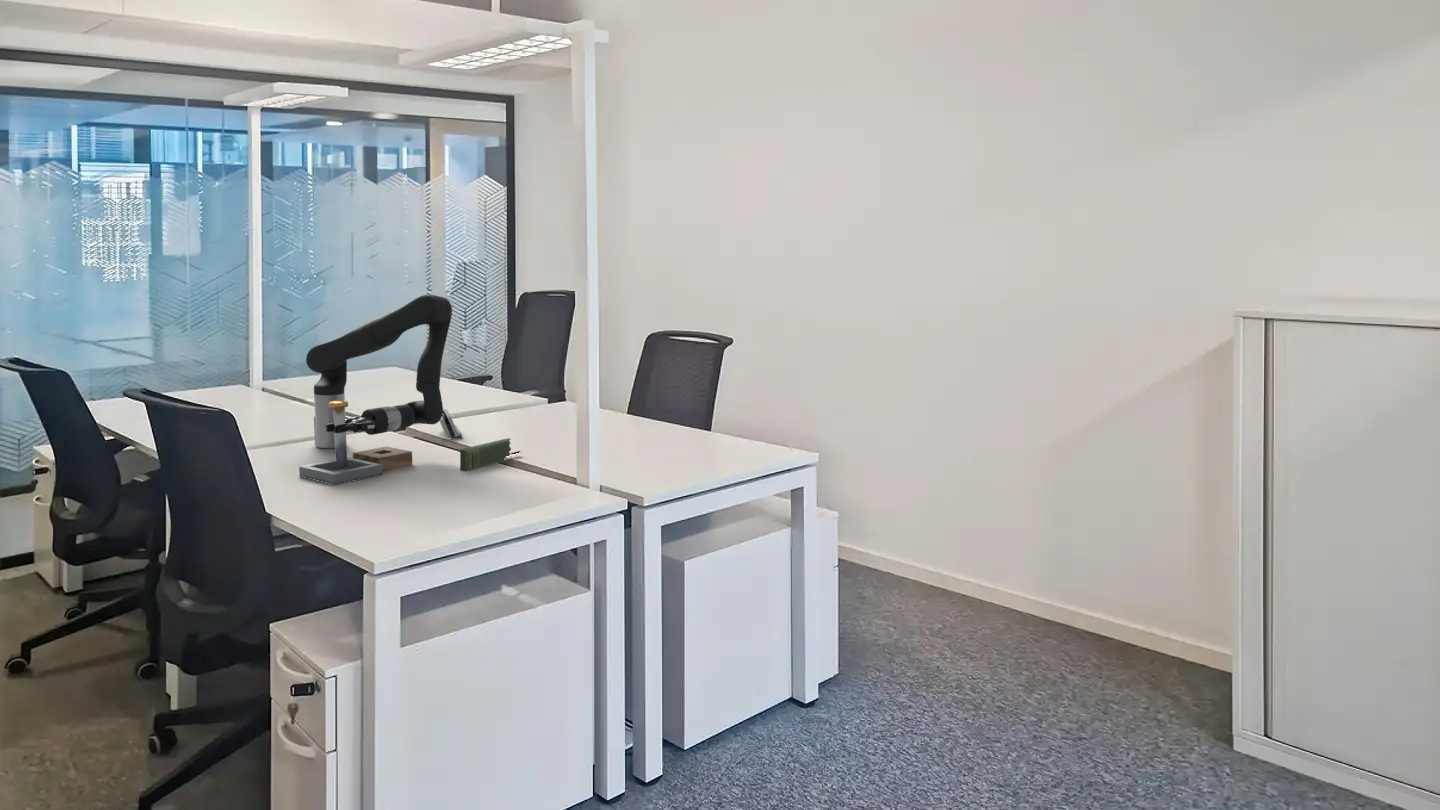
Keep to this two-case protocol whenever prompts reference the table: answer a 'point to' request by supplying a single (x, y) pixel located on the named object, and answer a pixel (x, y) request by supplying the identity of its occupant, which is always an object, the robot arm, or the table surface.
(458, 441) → the table surface
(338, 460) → the pin
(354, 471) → the tray
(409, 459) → the socket block
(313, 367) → the robot arm
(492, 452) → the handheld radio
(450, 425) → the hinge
